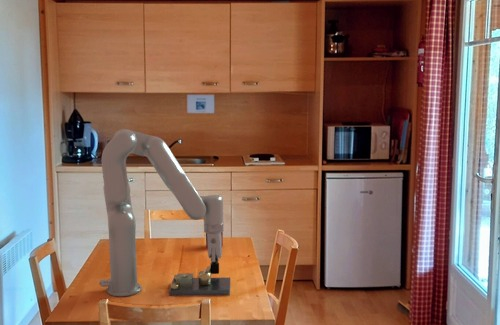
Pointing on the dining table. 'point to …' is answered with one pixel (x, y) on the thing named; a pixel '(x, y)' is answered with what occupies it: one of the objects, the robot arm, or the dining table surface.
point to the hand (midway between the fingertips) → (214, 273)
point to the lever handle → (205, 276)
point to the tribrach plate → (198, 286)
